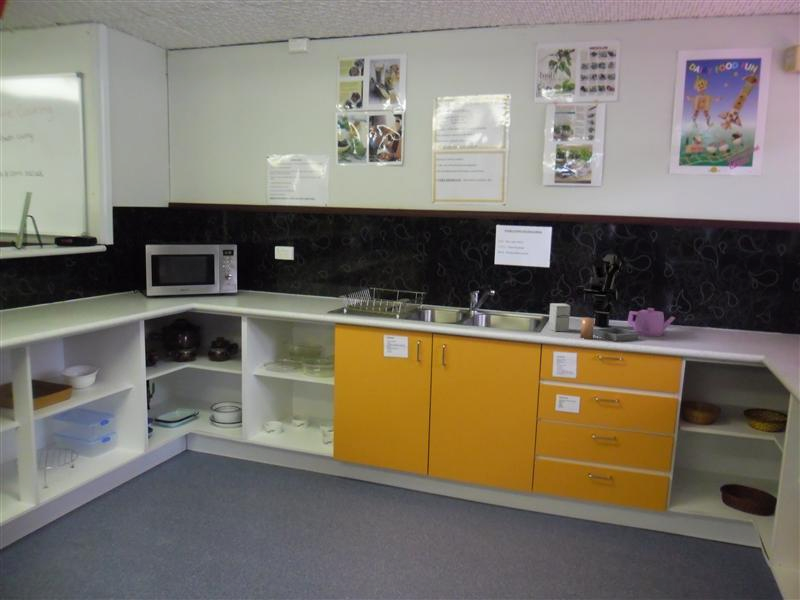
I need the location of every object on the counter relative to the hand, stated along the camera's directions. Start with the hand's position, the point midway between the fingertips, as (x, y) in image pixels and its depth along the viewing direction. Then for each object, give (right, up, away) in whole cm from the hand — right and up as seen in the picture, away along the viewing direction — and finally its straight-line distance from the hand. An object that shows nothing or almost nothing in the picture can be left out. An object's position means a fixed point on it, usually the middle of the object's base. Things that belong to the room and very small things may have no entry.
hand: (592, 307), depth 290 cm
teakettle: (+30, -13, +9) cm, 34 cm away
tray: (+10, -14, -2) cm, 17 cm away
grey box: (-13, -11, +12) cm, 21 cm away
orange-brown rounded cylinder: (-4, -14, -5) cm, 15 cm away
